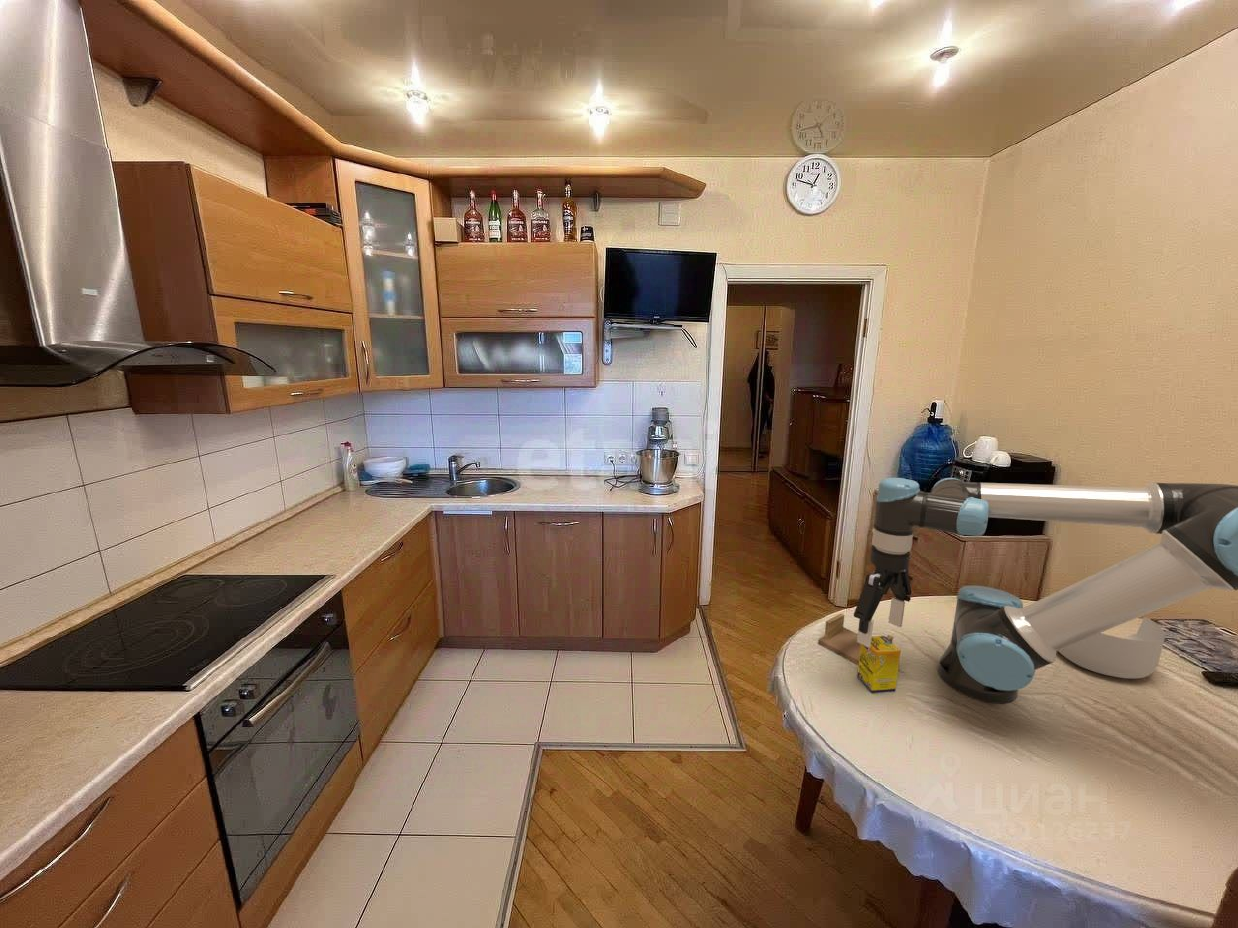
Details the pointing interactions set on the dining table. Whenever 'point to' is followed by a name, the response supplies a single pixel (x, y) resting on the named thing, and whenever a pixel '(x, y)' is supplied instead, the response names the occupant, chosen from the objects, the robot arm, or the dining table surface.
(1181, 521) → the robot arm
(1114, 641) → the bowl
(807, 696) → the dining table surface
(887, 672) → the supplement box
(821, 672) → the dining table surface
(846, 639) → the stand
